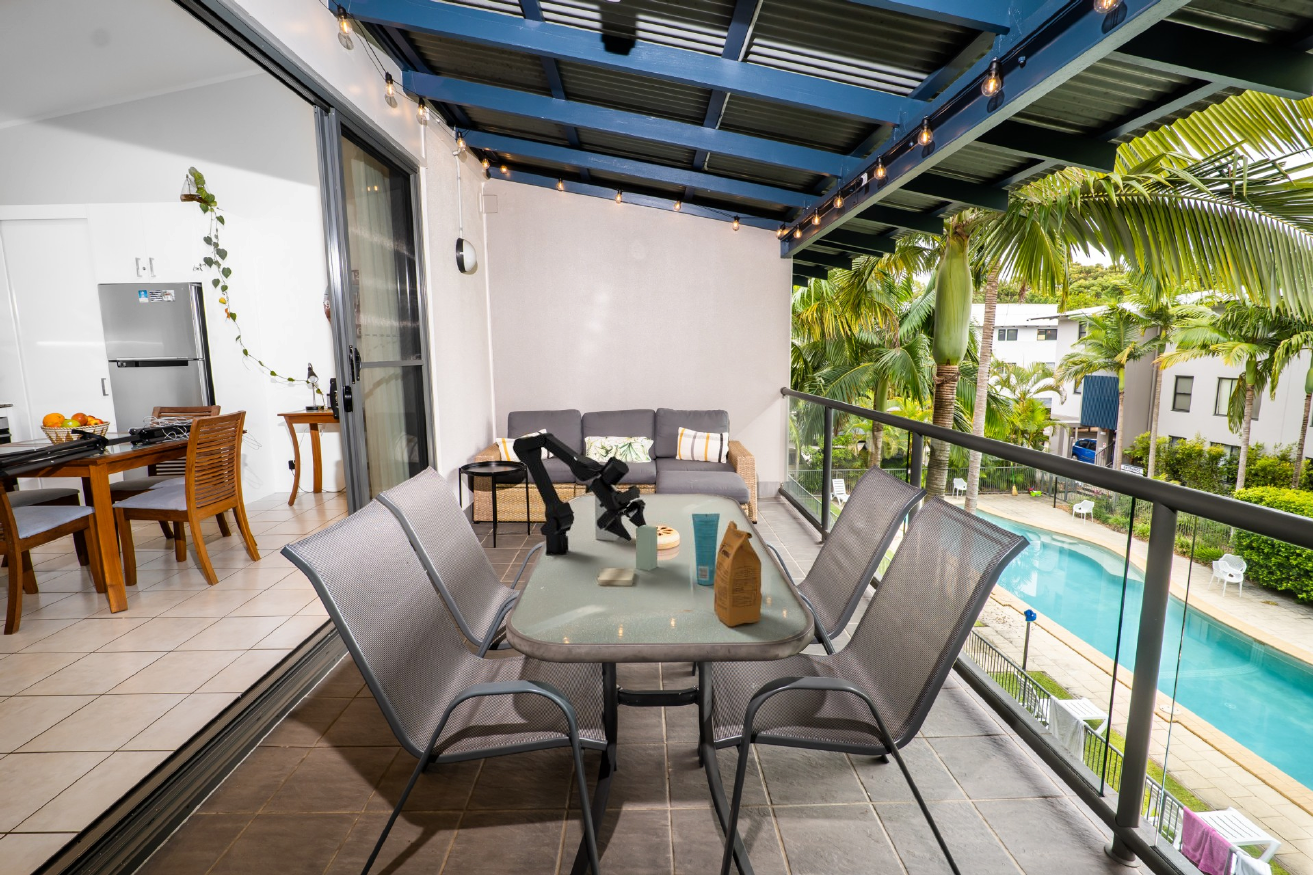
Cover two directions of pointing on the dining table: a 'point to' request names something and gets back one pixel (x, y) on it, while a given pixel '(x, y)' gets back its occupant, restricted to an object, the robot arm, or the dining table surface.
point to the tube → (705, 546)
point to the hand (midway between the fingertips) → (639, 536)
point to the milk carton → (602, 533)
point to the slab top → (616, 576)
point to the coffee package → (737, 579)
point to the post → (646, 547)
